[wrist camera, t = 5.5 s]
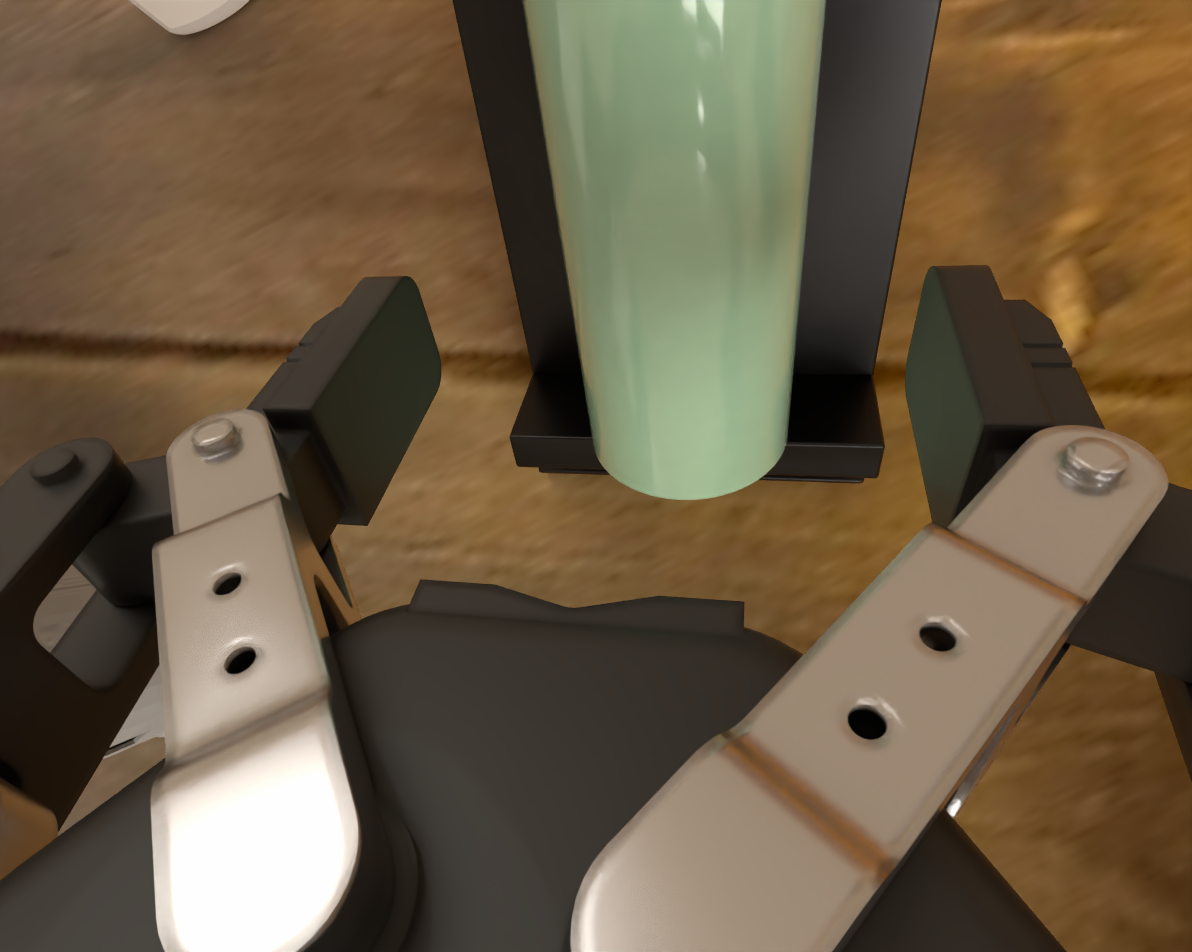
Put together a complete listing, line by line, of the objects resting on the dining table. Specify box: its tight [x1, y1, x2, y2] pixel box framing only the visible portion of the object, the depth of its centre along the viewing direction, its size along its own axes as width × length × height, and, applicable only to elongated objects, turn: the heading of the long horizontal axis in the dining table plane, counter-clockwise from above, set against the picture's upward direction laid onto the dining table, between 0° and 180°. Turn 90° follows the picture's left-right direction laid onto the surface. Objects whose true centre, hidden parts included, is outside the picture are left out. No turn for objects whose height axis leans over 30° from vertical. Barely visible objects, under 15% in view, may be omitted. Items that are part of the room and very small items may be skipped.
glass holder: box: [33, 565, 165, 760], centre depth 19 cm, size 9×14×15 cm, turn 64°
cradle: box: [453, 0, 942, 483], centre depth 17 cm, size 16×10×14 cm, turn 178°
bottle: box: [522, 0, 826, 500], centre depth 14 cm, size 14×5×14 cm, turn 178°
